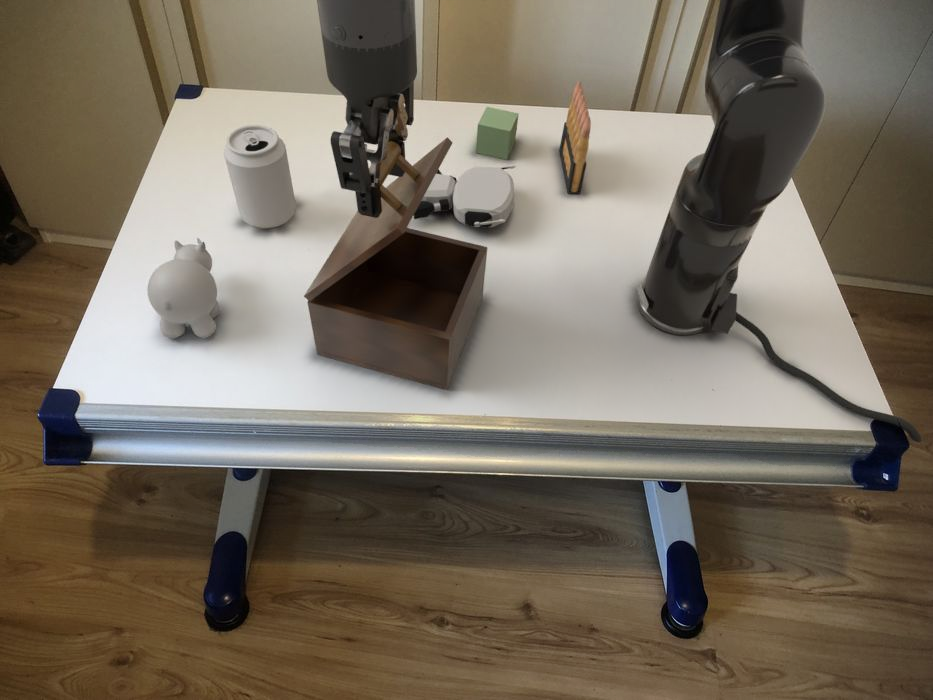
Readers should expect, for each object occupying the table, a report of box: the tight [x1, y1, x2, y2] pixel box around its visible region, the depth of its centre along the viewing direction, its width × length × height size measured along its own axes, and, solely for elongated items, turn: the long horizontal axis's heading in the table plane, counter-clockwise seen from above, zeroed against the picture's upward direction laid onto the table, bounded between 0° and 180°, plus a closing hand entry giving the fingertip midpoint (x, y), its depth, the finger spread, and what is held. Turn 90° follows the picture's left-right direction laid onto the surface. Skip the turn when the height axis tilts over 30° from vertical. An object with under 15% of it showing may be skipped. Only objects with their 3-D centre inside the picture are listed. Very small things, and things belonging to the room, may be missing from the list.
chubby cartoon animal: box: [146, 237, 221, 340], centre depth 79 cm, size 7×12×8 cm, turn 179°
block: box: [475, 106, 520, 161], centre depth 104 cm, size 5×5×5 cm
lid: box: [303, 137, 453, 301], centre depth 69 cm, size 16×15×5 cm
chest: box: [307, 227, 488, 390], centre depth 78 cm, size 16×15×9 cm
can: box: [223, 124, 297, 229], centre depth 89 cm, size 8×8×12 cm
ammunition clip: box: [558, 80, 592, 194], centre depth 98 cm, size 11×2×12 cm, turn 2°
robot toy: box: [413, 164, 517, 229], centre depth 94 cm, size 12×4×15 cm
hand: (382, 192), depth 67 cm, fingers closed on lid, 6 cm apart
